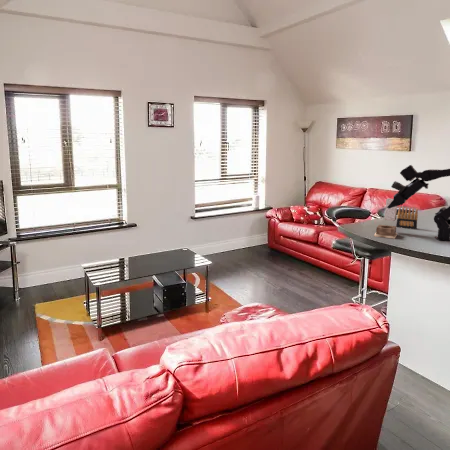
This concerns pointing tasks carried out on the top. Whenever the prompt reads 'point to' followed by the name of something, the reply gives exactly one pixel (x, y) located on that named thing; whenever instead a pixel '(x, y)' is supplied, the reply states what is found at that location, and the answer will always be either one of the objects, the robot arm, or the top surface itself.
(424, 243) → the top surface
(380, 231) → the socket block
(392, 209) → the metal bar
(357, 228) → the top surface
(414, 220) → the ammunition clip
